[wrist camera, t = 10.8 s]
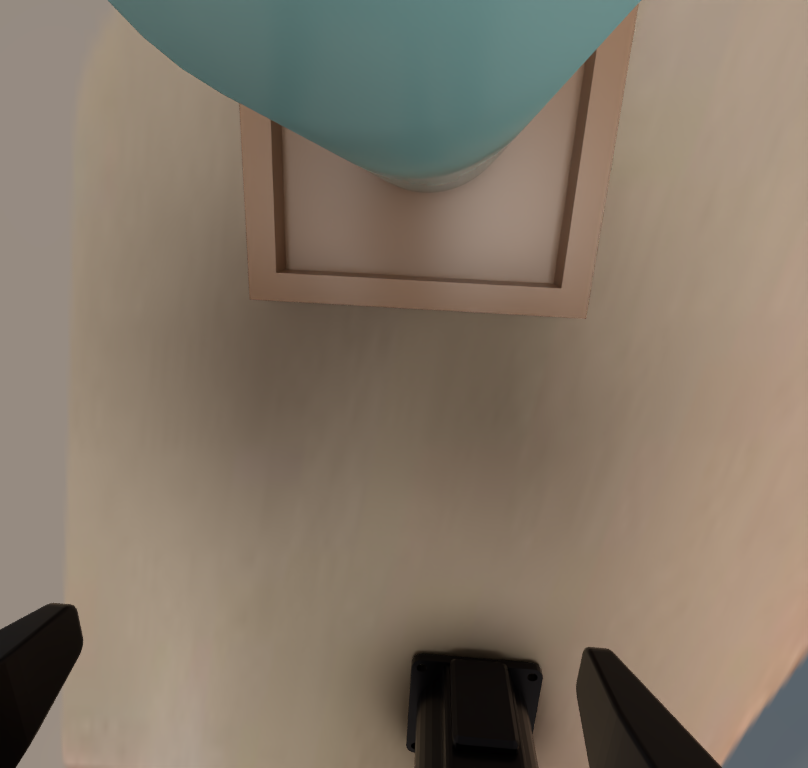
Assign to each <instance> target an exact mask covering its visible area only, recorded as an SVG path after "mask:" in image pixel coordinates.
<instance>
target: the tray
mask: <svg viewBox="0 0 808 768" xmlns="http://www.w3.org/2000/svg"><path fill="white" fill-rule="evenodd" d="M638 4H639V3H638ZM638 4H637V5H636V6H635V8H634V9H633V10H632V11H631V12H630V13H629V14H628V15H627V16H626V17H625V19H624V20H623V21H622V22H621V23H620V24H619V25H618V26H617V27H616V28H615V29H614V31H613V32H612V33H611V34H610V35H609V36H608V37H607V38H606V39H605V40H604V42H603V43H602V44H601V45H600V46H599V47H598V48H597V49H596V50H595V51H594V53H593V54H592V55H591V56H590V57H589V58H588V59H587V60H586V61H585V62H584V63H583V65H582V66H581V67H580V68H579V69H578V70H577V71H576V72H575V73H574V74H573V76H572V77H571V78H570V79H569V80H568V81H567V82H566V83H565V84H564V85H563V87H562V88H561V89H560V90H559V91H558V92H557V93H556V94H555V95H554V96H553V97H552V99H551V100H550V101H549V102H548V103H547V104H546V105H545V106H544V107H543V108H542V110H541V111H540V112H539V113H538V114H537V115H536V116H535V117H534V118H533V119H532V121H531V122H530V123H529V124H528V125H527V126H526V127H525V128H524V129H523V130H522V131H521V133H520V134H519V135H518V136H517V137H516V138H515V139H514V140H513V141H512V142H511V144H510V145H509V146H508V147H507V148H506V149H505V150H504V151H503V152H502V153H501V155H500V156H499V157H498V158H497V159H496V160H495V161H494V162H493V163H492V164H491V165H490V166H489V167H488V168H487V169H486V170H485V171H484V172H483V173H481V174H480V175H479V176H478V177H476V178H475V179H473V180H471V181H470V182H468V183H466V184H464V185H462V186H459V187H457V188H455V189H451V190H447V191H443V192H436V193H420V192H413V191H409V190H405V189H402V188H399V187H397V186H395V185H392V184H390V183H388V182H386V181H385V180H383V179H381V178H379V177H377V176H375V175H373V174H371V173H370V172H368V171H366V170H364V169H362V168H360V167H358V166H356V165H355V164H353V163H351V162H349V161H347V160H345V159H343V158H341V157H340V156H338V155H336V154H334V153H332V152H330V151H328V150H327V149H325V148H323V147H321V146H319V145H317V144H315V143H313V142H312V141H310V140H308V139H306V138H304V137H302V136H300V135H298V134H297V133H295V132H293V131H291V130H289V129H287V128H285V127H283V126H282V125H280V124H278V123H276V122H274V121H272V120H270V119H268V118H267V117H265V116H263V115H261V114H259V113H257V112H255V111H253V110H252V109H250V108H248V107H246V106H244V105H242V104H240V103H239V106H240V125H241V144H242V163H243V182H244V201H245V220H246V238H247V257H248V276H249V295H250V299H251V300H268V301H286V302H303V303H321V304H338V305H356V306H373V307H391V308H408V309H426V310H443V311H460V312H478V313H495V314H513V315H530V316H548V317H565V318H583V319H586V315H587V309H588V303H589V297H590V291H591V285H592V279H593V273H594V267H595V261H596V255H597V249H598V243H599V237H600V231H601V225H602V219H603V213H604V207H605V201H606V195H607V190H608V184H609V178H610V172H611V166H612V160H613V154H614V148H615V142H616V136H617V130H618V124H619V118H620V112H621V106H622V100H623V94H624V88H625V82H626V76H627V70H628V64H629V58H630V52H631V46H632V40H633V34H634V28H635V22H636V16H637V10H638Z"/></svg>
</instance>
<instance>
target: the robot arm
mask: <svg viewBox="0 0 808 768" xmlns="http://www.w3.org/2000/svg"><path fill="white" fill-rule="evenodd" d="M82 646H83V636H82V631H81V626H80V621H79V616H78V612H77V609H76V608H75V606H74V605H71V604H60V603H50V604H47V605H45V606H43V607H41V608H40V609H38V610H36V611H34V612H32V613H30V614H28V615H27V616H25V617H23V618H21V619H19V620H17V621H15V622H14V623H12V624H10V625H8V626H6V627H4V628H2V629H1V630H0V768H16V766H17V765H18V763H19V762H20V760H21V758H22V757H23V755H24V754H25V752H26V751H27V749H28V747H29V746H30V744H31V742H32V740H33V739H34V737H35V735H36V734H37V732H38V730H39V728H40V727H41V725H42V723H43V721H44V719H45V717H46V715H47V714H48V712H49V710H50V708H51V706H52V705H53V703H54V701H55V699H56V697H57V696H58V694H59V691H60V690H61V688H62V686H63V685H64V683H65V681H66V679H67V677H68V675H69V674H70V672H71V670H72V668H73V666H74V664H75V663H76V661H77V659H78V657H79V655H80V653H81V650H82ZM420 664H424V665H420ZM532 673H534V674H532ZM542 679H543V676H542V671H541V668H540V666H539V665H537V664H535V663H528V662H517V661H505V660H493V659H481V658H469V657H457V656H445V655H433V654H417V655H415V656H414V657H413V659H412V668H411V683H410V697H409V712H408V727H407V743H406V746H407V749H408V750H409V751H411V752H414V753H415V768H539V767H538V762H537V757H536V751H535V746H534V741H533V735H532V734H533V729H534V723H535V718H536V712H537V707H538V701H539V696H540V690H541V685H542ZM576 692H577V700H578V706H579V711H580V717H581V722H582V728H583V734H584V739H585V745H586V750H587V756H588V761H589V767H590V768H722V767H721V766H720V765H719V764H718V763H717V762H716V761H715V760H714V759H713V757H712V756H711V755H710V754H709V753H708V752H707V751H706V750H705V749H704V748H703V747H702V746H701V745H700V744H699V743H698V742H697V741H696V739H695V738H694V737H693V736H692V735H691V734H690V733H689V732H688V731H687V730H686V729H685V728H684V727H683V726H682V725H681V724H680V723H679V721H678V720H677V719H676V718H675V717H674V716H673V715H672V714H671V713H670V712H669V711H668V710H667V709H666V708H665V707H664V706H663V705H662V703H661V702H660V701H659V700H658V699H657V698H656V697H655V696H654V695H653V694H652V693H651V692H650V691H649V690H648V689H647V688H646V686H645V685H644V684H643V683H642V682H641V681H640V680H639V679H638V678H637V677H636V676H635V675H634V674H633V673H632V672H631V671H630V670H629V668H628V667H627V666H626V665H625V664H624V663H623V662H622V661H621V660H620V659H619V658H618V657H617V656H616V655H615V654H614V653H613V652H612V651H611V650H609V649H606V648H595V647H587V648H585V650H584V651H583V654H582V659H581V664H580V669H579V673H578V678H577V685H576Z"/></svg>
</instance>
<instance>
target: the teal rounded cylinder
mask: <svg viewBox="0 0 808 768" xmlns="http://www.w3.org/2000/svg"><path fill="white" fill-rule="evenodd" d="M108 1H109V2H110V3H111V4H112V5H113V6H114V7H115V8H116V9H117V10H118V11H119V12H120V14H121V15H122V16H123V17H124V18H125V19H126V20H127V21H128V22H129V23H130V24H131V25H132V26H133V27H134V28H135V29H136V30H137V31H138V32H139V33H140V34H141V35H142V36H143V37H144V38H145V39H146V40H147V41H149V42H150V43H151V44H152V45H154V46H155V47H156V48H157V49H158V50H160V51H161V52H162V53H163V54H165V55H166V56H167V57H168V58H169V59H171V60H172V61H173V62H174V63H176V64H177V65H178V66H179V67H181V68H182V69H183V70H185V71H186V72H188V73H190V74H191V75H193V76H194V77H196V78H198V79H199V80H201V81H202V82H204V83H206V84H207V85H209V86H210V87H212V88H214V89H215V90H217V91H218V92H220V93H222V94H223V95H225V96H227V97H229V98H231V99H233V100H235V101H237V102H238V103H240V104H242V105H244V106H246V107H248V108H250V109H252V110H253V111H255V112H257V113H259V114H261V115H263V116H265V117H267V118H268V119H270V120H272V121H274V122H276V123H278V124H280V125H282V126H283V127H285V128H287V129H289V130H291V131H293V132H295V133H297V134H298V135H300V136H302V137H304V138H306V139H308V140H310V141H312V142H313V143H315V144H317V145H319V146H321V147H323V148H325V149H327V150H328V151H330V152H332V153H334V154H336V155H338V156H340V157H341V158H343V159H345V160H347V161H349V162H351V163H353V164H355V165H356V166H358V167H360V168H362V169H364V170H366V171H368V172H370V173H371V174H373V175H375V176H377V177H379V178H381V179H383V180H385V181H386V182H388V183H390V184H392V185H395V186H397V187H399V188H402V189H405V190H409V191H413V192H420V193H436V192H443V191H447V190H451V189H455V188H457V187H459V186H462V185H464V184H466V183H468V182H470V181H471V180H473V179H475V178H476V177H478V176H479V175H480V174H481V173H483V172H484V171H485V170H486V169H487V168H488V167H489V166H490V165H491V164H492V163H493V162H494V161H495V160H496V159H497V158H498V157H499V156H500V155H501V153H502V152H503V151H504V150H505V149H506V148H507V147H508V146H509V145H510V144H511V142H512V141H513V140H514V139H515V138H516V137H517V136H518V135H519V134H520V133H521V131H522V130H523V129H524V128H525V127H526V126H527V125H528V124H529V123H530V122H531V121H532V119H533V118H534V117H535V116H536V115H537V114H538V113H539V112H540V111H541V110H542V108H543V107H544V106H545V105H546V104H547V103H548V102H549V101H550V100H551V99H552V97H553V96H554V95H555V94H556V93H557V92H558V91H559V90H560V89H561V88H562V87H563V85H564V84H565V83H566V82H567V81H568V80H569V79H570V78H571V77H572V76H573V74H574V73H575V72H576V71H577V70H578V69H579V68H580V67H581V66H582V65H583V63H584V62H585V61H586V60H587V59H588V58H589V57H590V56H591V55H592V54H593V53H594V51H595V50H596V49H597V48H598V47H599V46H600V45H601V44H602V43H603V42H604V40H605V39H606V38H607V37H608V36H609V35H610V34H611V33H612V32H613V31H614V29H615V28H616V27H617V26H618V25H619V24H620V23H621V22H622V21H623V20H624V19H625V17H626V16H627V15H628V14H629V13H630V12H631V11H632V10H633V9H634V8H635V6H636V5H637V4H638V3H639V2H640V1H641V0H108Z"/></svg>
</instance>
